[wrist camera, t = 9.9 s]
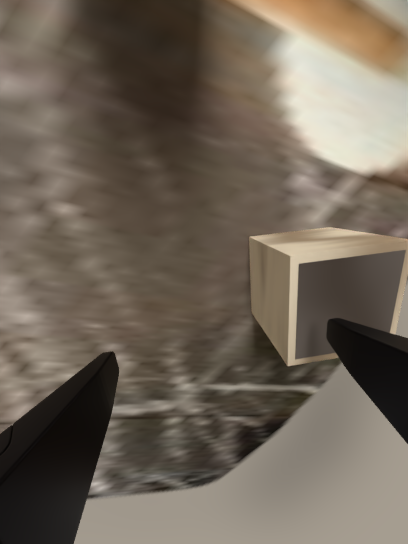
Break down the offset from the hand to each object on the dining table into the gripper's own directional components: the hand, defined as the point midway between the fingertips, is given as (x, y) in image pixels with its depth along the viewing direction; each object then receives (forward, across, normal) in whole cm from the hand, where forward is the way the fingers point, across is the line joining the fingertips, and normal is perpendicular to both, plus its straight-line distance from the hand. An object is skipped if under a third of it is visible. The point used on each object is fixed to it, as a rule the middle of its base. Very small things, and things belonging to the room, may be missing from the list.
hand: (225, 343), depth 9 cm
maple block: (+1, -6, 0) cm, 7 cm away
